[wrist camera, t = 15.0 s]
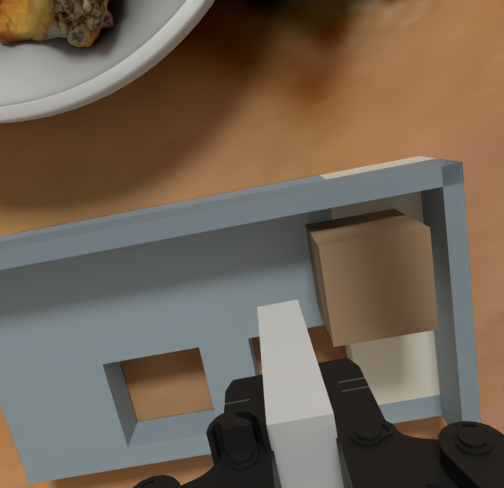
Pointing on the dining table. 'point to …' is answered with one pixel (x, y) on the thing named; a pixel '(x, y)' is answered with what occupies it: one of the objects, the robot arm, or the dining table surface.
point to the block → (373, 276)
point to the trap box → (211, 311)
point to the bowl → (83, 49)
